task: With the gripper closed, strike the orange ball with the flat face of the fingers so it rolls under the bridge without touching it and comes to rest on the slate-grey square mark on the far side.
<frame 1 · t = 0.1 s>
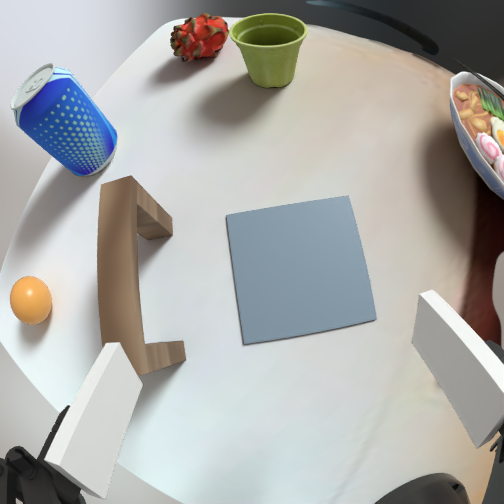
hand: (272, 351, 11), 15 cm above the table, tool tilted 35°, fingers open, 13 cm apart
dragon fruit: (206, 52, 37), on the table
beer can: (97, 154, 34), on the table
ramen bowl: (489, 160, 28), on the table
bridge: (163, 288, 28), on the table
plant pot: (271, 76, 34), on the table
ball: (30, 300, 26), on the table
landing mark: (301, 266, 27), on the table
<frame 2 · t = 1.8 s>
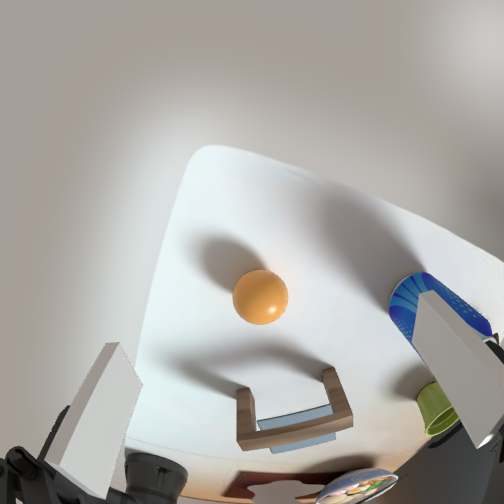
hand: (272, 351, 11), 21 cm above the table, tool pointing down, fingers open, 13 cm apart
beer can: (409, 295, 35), on the table
ramen bowl: (351, 474, 54), on the table
bridge: (287, 386, 39), on the table
plant pot: (427, 391, 43), on the table
ball: (260, 297, 30), on the table
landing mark: (300, 431, 44), on the table
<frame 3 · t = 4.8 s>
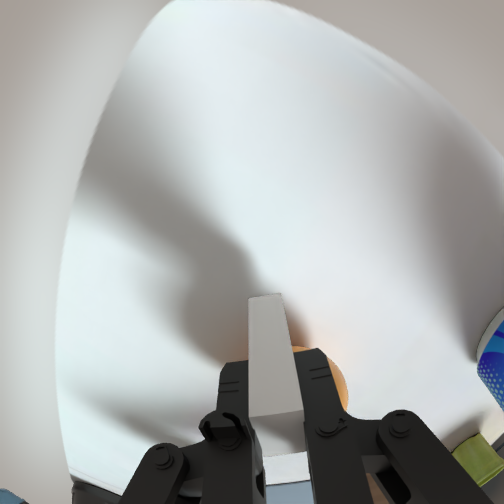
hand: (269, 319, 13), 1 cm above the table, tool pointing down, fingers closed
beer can: (501, 331, 17), on the table
plant pot: (464, 444, 26), on the table
ball: (291, 400, 13), on the table
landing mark: (299, 496, 26), on the table
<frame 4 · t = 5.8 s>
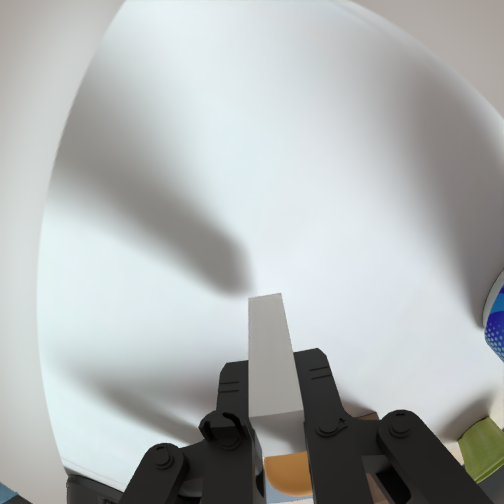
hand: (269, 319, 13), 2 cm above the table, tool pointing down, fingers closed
bridge: (291, 439, 20), on the table
plant pot: (473, 428, 25), on the table
ball: (301, 464, 17), on the table
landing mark: (299, 486, 25), on the table
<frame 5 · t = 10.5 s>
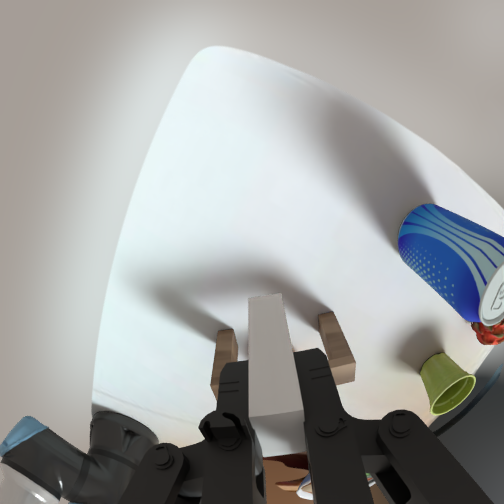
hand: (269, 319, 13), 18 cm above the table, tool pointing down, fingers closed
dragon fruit: (482, 310, 36), on the table
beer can: (419, 233, 31), on the table
ramen bowl: (339, 460, 52), on the table
bridge: (277, 331, 36), on the table
plant pot: (432, 364, 40), on the table
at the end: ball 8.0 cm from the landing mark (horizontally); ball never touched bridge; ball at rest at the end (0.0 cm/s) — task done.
